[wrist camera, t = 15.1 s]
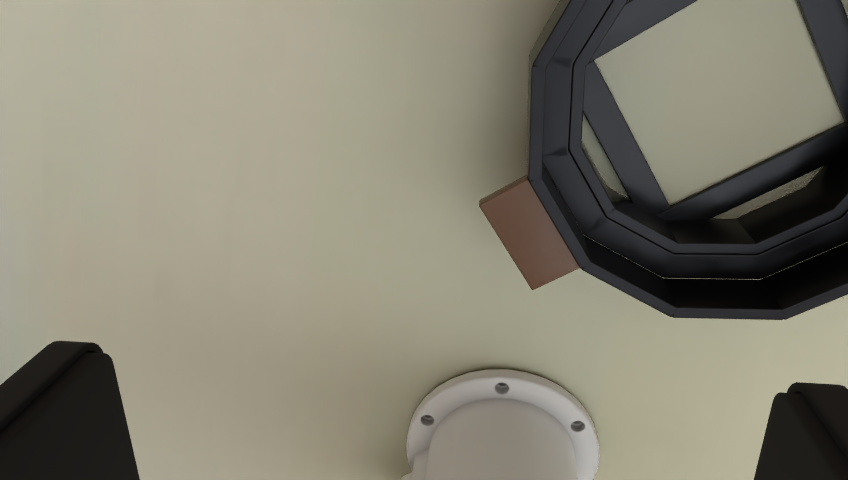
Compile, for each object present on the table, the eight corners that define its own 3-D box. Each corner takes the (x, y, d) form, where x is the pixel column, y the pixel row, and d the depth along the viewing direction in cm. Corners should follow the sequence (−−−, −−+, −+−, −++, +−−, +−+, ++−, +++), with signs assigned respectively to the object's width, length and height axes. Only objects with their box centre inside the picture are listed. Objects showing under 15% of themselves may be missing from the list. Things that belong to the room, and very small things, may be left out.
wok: (584, 330, 40) (597, 396, 34) (413, 53, 34) (395, 77, 28) (1040, 129, 32) (1152, 171, 27) (922, -273, 26) (1034, -328, 21)
